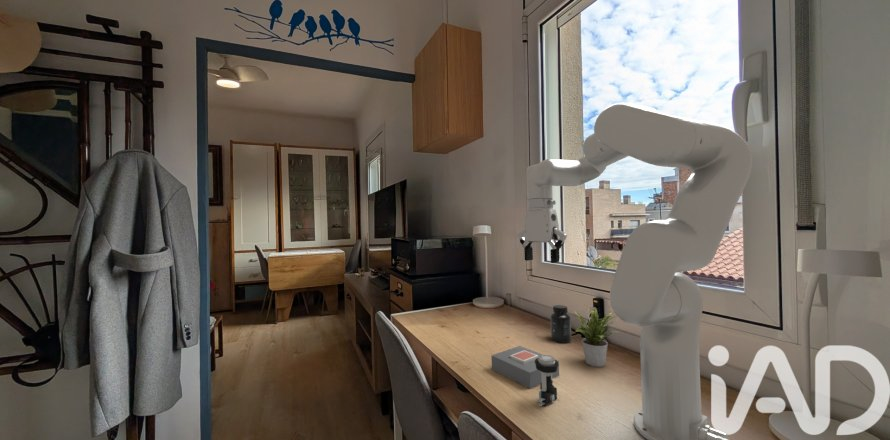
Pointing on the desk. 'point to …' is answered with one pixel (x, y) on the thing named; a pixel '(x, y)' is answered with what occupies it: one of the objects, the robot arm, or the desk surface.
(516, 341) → the desk surface
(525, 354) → the breaker button
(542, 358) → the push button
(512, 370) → the grey button box
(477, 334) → the desk surface
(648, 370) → the robot arm
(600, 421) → the desk surface
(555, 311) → the supplement bottle
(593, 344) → the house plant
